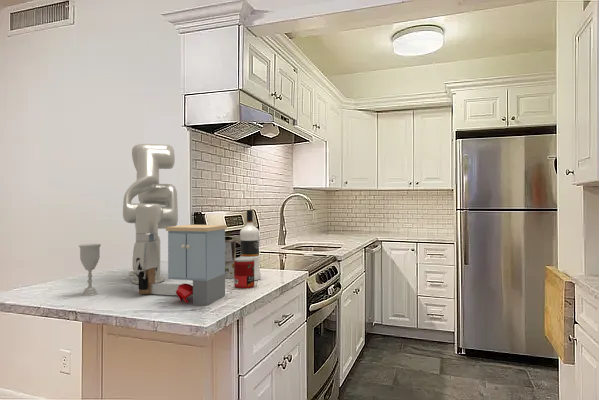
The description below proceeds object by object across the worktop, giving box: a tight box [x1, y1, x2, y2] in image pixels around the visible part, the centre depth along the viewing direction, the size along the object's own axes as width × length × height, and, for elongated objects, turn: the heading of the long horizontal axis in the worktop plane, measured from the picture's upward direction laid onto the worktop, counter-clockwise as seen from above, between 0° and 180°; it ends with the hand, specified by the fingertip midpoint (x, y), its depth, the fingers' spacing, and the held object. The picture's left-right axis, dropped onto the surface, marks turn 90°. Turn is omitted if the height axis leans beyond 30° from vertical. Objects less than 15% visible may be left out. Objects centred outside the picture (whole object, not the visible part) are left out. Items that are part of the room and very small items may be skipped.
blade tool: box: [138, 267, 181, 296], centre depth 144 cm, size 15×4×9 cm, turn 76°
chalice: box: [78, 243, 102, 297], centre depth 145 cm, size 7×7×18 cm
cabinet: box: [165, 224, 228, 306], centre depth 136 cm, size 15×16×25 cm
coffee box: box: [225, 239, 237, 279], centre depth 178 cm, size 9×6×16 cm
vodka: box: [239, 209, 262, 282], centre depth 172 cm, size 9×9×30 cm
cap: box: [176, 283, 193, 304], centre depth 135 cm, size 8×6×6 cm
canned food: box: [233, 257, 255, 290], centre depth 157 cm, size 8×8×11 cm
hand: (146, 287), depth 145 cm, fingers closed on blade tool, 4 cm apart
